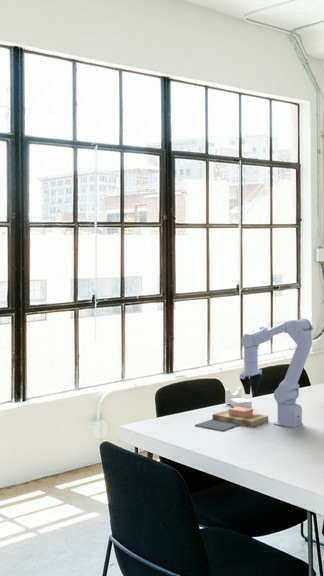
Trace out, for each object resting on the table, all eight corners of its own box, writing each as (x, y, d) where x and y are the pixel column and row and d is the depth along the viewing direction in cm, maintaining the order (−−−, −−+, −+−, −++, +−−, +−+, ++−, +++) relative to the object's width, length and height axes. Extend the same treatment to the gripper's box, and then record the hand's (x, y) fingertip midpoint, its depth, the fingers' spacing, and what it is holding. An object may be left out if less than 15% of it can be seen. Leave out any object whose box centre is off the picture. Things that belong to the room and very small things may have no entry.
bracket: (225, 404, 317) (225, 388, 317) (239, 403, 319) (239, 387, 319) (237, 410, 305) (237, 393, 305) (251, 409, 307) (251, 392, 307)
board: (268, 421, 282) (268, 415, 282) (252, 427, 273) (252, 421, 273) (228, 414, 295) (228, 409, 295) (212, 420, 286) (212, 414, 286)
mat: (239, 425, 277) (239, 424, 277) (223, 431, 268) (223, 430, 268) (212, 420, 286) (212, 419, 286) (194, 426, 277) (194, 424, 277)
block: (252, 414, 284) (252, 409, 284) (244, 417, 280) (244, 411, 279) (236, 412, 289) (236, 406, 289) (228, 414, 285) (228, 409, 285)
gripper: (252, 358, 298) (252, 389, 298) (233, 362, 287) (233, 394, 287) (265, 360, 293) (266, 391, 294) (247, 364, 282) (247, 396, 283)
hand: (251, 393), depth 290 cm, fingers open, 5 cm apart
